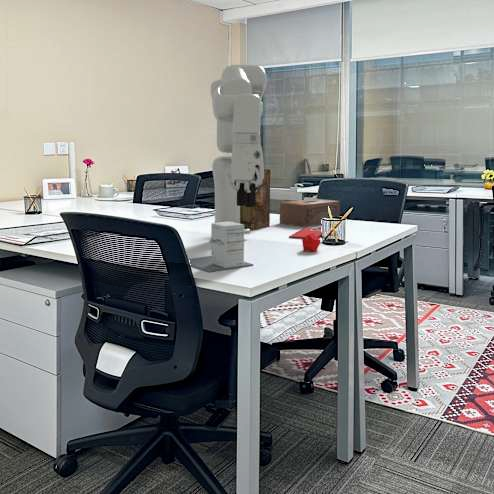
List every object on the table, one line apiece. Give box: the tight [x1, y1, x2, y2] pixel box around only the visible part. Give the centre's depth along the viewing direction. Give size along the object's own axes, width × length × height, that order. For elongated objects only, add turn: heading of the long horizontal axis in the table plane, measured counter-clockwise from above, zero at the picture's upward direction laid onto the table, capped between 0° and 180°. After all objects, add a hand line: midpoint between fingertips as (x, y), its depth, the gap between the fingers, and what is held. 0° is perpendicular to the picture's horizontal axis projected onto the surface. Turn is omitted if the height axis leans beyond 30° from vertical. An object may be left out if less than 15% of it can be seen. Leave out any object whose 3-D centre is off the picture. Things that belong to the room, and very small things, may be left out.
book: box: [240, 168, 271, 231], centre depth 249 cm, size 16×6×25 cm, turn 146°
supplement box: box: [210, 222, 245, 268], centre depth 173 cm, size 7×7×13 cm
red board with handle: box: [288, 226, 323, 240], centre depth 236 cm, size 30×3×15 cm
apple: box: [301, 233, 322, 253], centre depth 199 cm, size 7×7×8 cm
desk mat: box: [188, 255, 254, 273], centre depth 177 cm, size 16×18×1 cm
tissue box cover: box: [279, 198, 341, 228], centre depth 268 cm, size 26×14×10 cm, turn 134°
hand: (246, 205), depth 163 cm, fingers open, 3 cm apart
